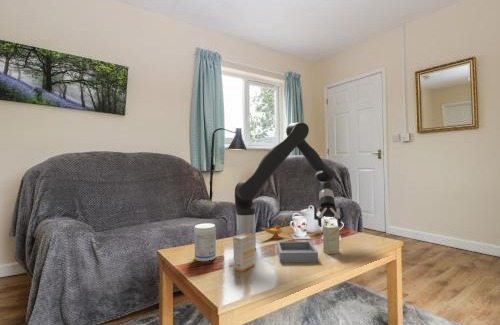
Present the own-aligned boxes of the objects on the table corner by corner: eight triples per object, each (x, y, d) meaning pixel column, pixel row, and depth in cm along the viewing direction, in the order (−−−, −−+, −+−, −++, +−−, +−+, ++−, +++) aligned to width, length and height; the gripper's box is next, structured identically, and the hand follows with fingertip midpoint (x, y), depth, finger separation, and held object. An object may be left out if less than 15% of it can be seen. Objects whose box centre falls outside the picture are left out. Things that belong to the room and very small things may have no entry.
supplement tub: (197, 254, 126) (196, 223, 126) (217, 254, 126) (216, 222, 126) (192, 262, 117) (191, 228, 117) (214, 261, 116) (213, 227, 116)
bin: (280, 262, 115) (279, 252, 115) (277, 250, 131) (277, 241, 131) (318, 261, 114) (317, 252, 114) (310, 249, 130) (310, 241, 130)
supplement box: (246, 262, 115) (245, 232, 115) (255, 265, 112) (254, 233, 112) (233, 269, 108) (232, 236, 108) (242, 271, 105) (241, 238, 105)
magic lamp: (256, 238, 152) (256, 218, 152) (283, 234, 160) (283, 215, 160) (262, 241, 145) (262, 221, 145) (290, 236, 154) (289, 217, 154)
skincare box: (328, 254, 123) (327, 227, 123) (322, 251, 127) (322, 225, 127) (340, 253, 125) (339, 226, 125) (334, 250, 129) (334, 224, 129)
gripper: (313, 195, 140) (314, 221, 129) (341, 195, 138) (346, 222, 127) (312, 203, 146) (314, 230, 134) (340, 203, 143) (344, 230, 132)
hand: (329, 226), depth 131 cm, fingers open, 8 cm apart
